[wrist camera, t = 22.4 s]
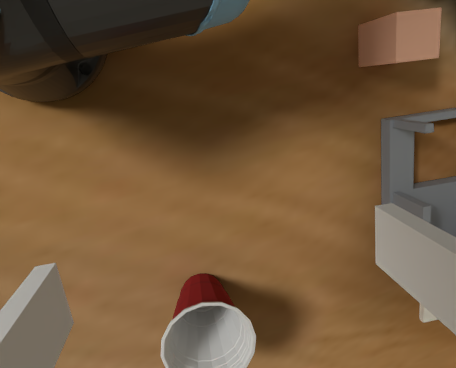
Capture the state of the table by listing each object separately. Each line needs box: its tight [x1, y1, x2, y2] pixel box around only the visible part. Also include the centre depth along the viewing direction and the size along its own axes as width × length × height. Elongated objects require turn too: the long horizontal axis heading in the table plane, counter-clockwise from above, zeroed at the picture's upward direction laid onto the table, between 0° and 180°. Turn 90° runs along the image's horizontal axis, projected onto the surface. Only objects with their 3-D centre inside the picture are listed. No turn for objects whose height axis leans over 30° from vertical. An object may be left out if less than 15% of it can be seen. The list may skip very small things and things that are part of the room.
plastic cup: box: [161, 274, 256, 368], centre depth 45 cm, size 11×11×12 cm
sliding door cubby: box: [381, 108, 456, 237], centre depth 47 cm, size 21×16×8 cm
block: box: [358, 7, 442, 67], centre depth 41 cm, size 5×5×8 cm
